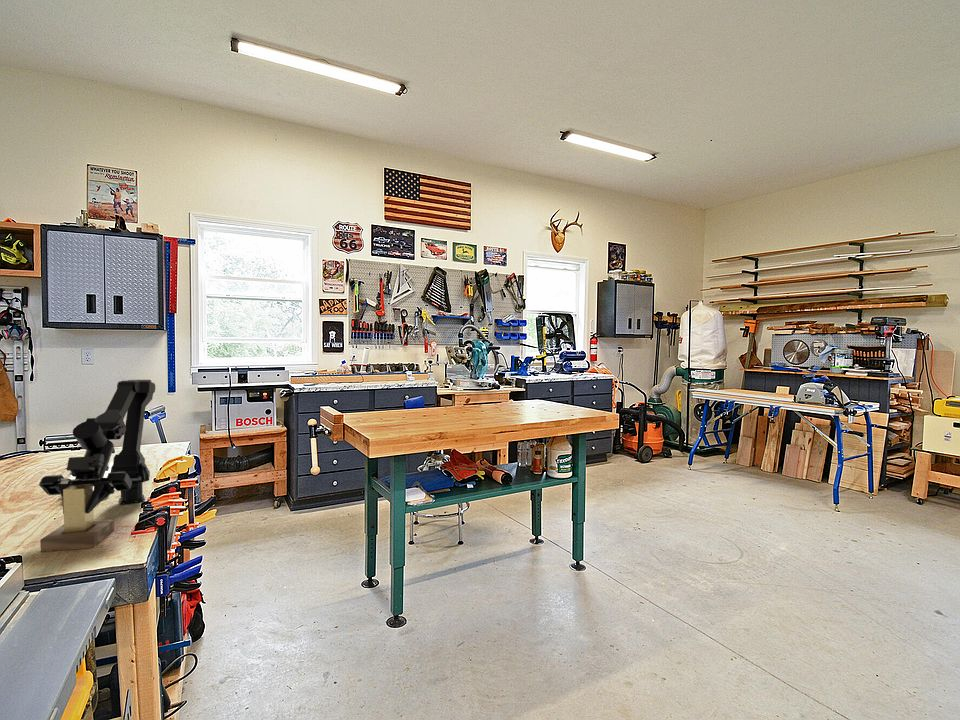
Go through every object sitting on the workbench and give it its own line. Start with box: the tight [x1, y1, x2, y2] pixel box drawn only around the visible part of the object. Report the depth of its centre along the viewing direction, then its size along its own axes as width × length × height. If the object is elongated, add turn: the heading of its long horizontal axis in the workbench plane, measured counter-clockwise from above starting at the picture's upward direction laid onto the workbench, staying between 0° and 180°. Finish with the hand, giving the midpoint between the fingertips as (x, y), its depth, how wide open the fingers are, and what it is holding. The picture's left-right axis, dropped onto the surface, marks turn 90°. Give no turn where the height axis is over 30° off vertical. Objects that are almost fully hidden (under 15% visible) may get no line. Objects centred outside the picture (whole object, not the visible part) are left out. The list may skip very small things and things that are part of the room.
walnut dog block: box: [39, 519, 115, 552], centre depth 125 cm, size 11×11×3 cm
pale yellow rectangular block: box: [62, 484, 95, 534], centre depth 125 cm, size 4×4×13 cm
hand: (76, 513), depth 123 cm, fingers closed on pale yellow rectangular block, 4 cm apart
